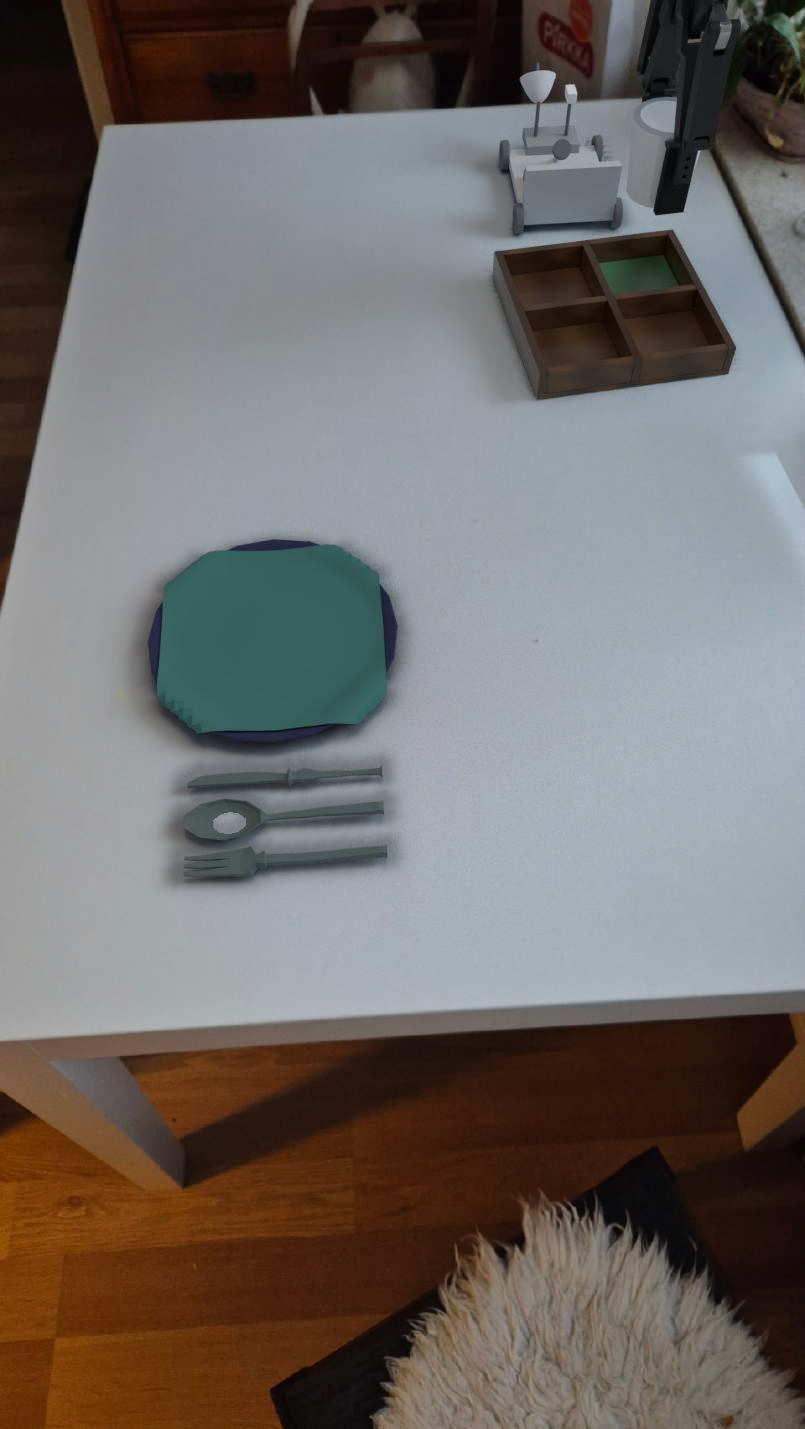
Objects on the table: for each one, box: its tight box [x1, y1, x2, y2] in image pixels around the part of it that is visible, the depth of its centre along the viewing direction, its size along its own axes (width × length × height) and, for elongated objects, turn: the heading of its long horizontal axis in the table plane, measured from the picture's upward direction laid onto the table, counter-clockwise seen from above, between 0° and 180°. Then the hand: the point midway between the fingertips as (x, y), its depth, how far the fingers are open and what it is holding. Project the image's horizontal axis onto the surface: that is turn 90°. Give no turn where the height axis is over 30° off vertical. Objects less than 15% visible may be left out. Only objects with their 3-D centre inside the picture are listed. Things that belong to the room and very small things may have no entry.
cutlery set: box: [147, 538, 399, 878], centre depth 78 cm, size 20×30×2 cm, turn 4°
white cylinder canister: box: [626, 96, 701, 209], centre depth 93 cm, size 7×7×7 cm
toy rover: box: [498, 62, 624, 235], centre depth 111 cm, size 18×10×12 cm
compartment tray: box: [492, 229, 737, 401], centre depth 101 cm, size 19×19×3 cm
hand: (656, 188), depth 96 cm, fingers closed on white cylinder canister, 7 cm apart
